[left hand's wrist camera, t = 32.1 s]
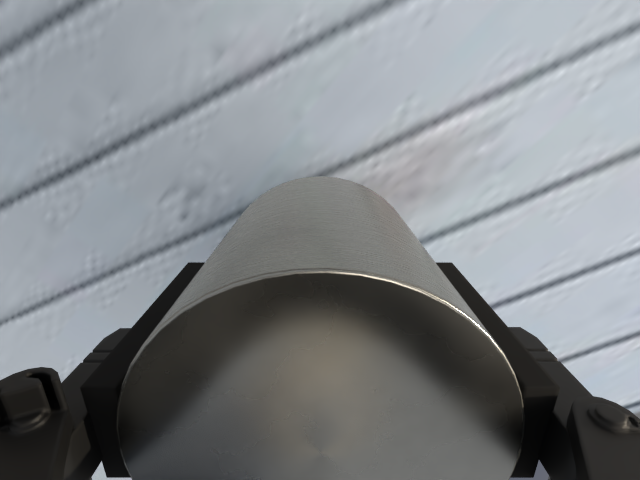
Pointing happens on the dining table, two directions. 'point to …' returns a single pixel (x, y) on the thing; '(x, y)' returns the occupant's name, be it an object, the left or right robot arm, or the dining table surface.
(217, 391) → the tin
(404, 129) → the dining table surface
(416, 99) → the dining table surface
